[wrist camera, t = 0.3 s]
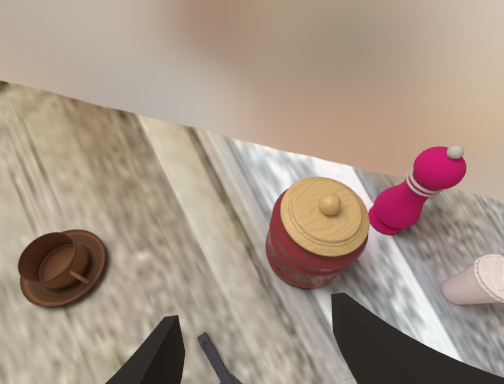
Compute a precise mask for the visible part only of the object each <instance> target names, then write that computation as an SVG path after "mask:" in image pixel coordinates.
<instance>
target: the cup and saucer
mask: <svg viewBox="0 0 504 384" xmlns="http://www.w3.org/2000/svg"><path fill="white" fill-rule="evenodd" d="M105 259H106V254H105V248H104V246H103V243H102V242H101V240H100V239H99V238H98V237H97V236H96V235H95V234H93V233H91V232H89V231H85V230H68V231H64V232H61V233H60V232H53V233H48V234H45V235H43V236H40V237H39V238H37V239H35V240H34V241H32V242H31V243H30V244H29V245H28V246H27V247H26V248H25V250H24V251H23V252H22V254H21V256H20V258H19V262H18V271H19V274H20V276H21V277H20V286H21V290H22V292H23V294H24V296H25V297H26V298H27V300H29V301H30V302H31V303H33V304H35V305H38V306H43V307H55V306H61V305H64V304H67V303H70V302H72V301H74V300H76V299H78V298H79V297H81V296H82V295H83V294H85V293H86V292H87V291H88V290H89V289H90V288H91V287H92V286H93V285H94V284H95V283H96V281H97V280H98V278H99V277H100V275H101V273H102V271H103V268H104V265H105Z"/></svg>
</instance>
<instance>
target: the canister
mask: <svg viewBox="0 0 504 384" xmlns="http://www.w3.org/2000/svg"><path fill="white" fill-rule="evenodd" d="M368 231H369V215H368V212H367V209H366V207H365V205H364V203H363V201H362V200H361V198H360V197H359V196H358V195H357V194H356V193H355V192H354V191H353V190H352V189H351V188H349V187H348V186H346V185H345V184H343V183H341V182H339V181H336V180H334V179H330V178H325V177H310V178H306V179H302V180H300V181H298V182H296V183H295V184H293V185H292V186H291V187H290V188H288V189H287V190H285V191H284V192H283V193H282V194H281V195H280V196H279V198H278V199H277V201H276V203H275V205H274V208H273V212H272V217H271V221H270V227H269V232H268V234H267V238H266V255H267V258H268V261H269V263H270V266H271V267H272V269H273V271H274V272H275V273H276V274H277V275H278V276H279V277H280V278H281V279H282V280H283V281H285V282H286V283H288V284H290V285H293V286H295V287H300V288H316V287H320V286H323V285H325V284H327V283H328V282H330V281H331V280H332V279H334V278H335V277H336V276H337V274H338V273H339V272H340V271H342V270H344V269H345V268H346V267H347V266H348V265H349V264H350V263H352V262H354V261H355V260H356V259H357V258H358V257H359V256H360V255H361V254H362V252H363V251H364V249H365V246H366V244H367V240H368Z"/></svg>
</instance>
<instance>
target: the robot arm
mask: <svg viewBox="0 0 504 384" xmlns="http://www.w3.org/2000/svg"><path fill="white" fill-rule="evenodd" d="M331 299H332V324H333V333H334V336H335V338H336V341H337V344H338V346H339V349H340V351H341V353H342V355H343V357H344V359H345V361H346V363H347V365H348V367H349V369H350V371H351V373H352V375H353V376H354V378H355V380H356V382H357V384H504V378H503V377H500V376H497V375H494V374H491V373H489V372H486V371H483V370H481V369H478V368H475V367H473V366H470V365H468V364H465V363H463V362H460V361H458V360H456V359H454V358H451V357H449V356H447V355H445V354H443V353H440V352H438V351H436V350H434V349H432V348H430V347H428V346H426V345H424V344H422V343H420V342H418V341H417V340H415V339H413V338H411V337H409V336H408V335H406V334H404V333H402V332H401V331H399V330H398V329H396V328H394V327H393V326H391V325H389V324H388V323H386V322H385V321H383V320H382V319H380V318H379V317H377V316H376V315H375V314H373V313H372V312H370V311H369V310H367V309H366V308H365V307H363V306H362V305H361V304H359V303H358V302H356V301H355V300H354V299H352V298H351V297H350V296H348V295H347V294H345V293H337V294H331ZM184 358H185V349H184V343H183V338H182V333H181V328H180V323H179V318H178V315H175V316H167V317H164V318H163V320H162V321H161V322H160V323H159V324H158V325H157V327H156V328H155V329H154V330H153V332H152V333H151V334H150V335H149V336H148V338H147V339H146V340H145V341H144V343H143V344H142V345H141V346H140V347H139V348H138V350H137V351H136V352H135V353H134V354H133V355H132V356H131V357H130V359H129V360H128V361H127V362H126V363H125V364H124V365H123V366H122V367H121V368H120V369H119V371H118V372H117V373H116V374H115V375H114V376H113V377H112V378H111V379H110V380H109V381H108V382H106V383H105V384H180V383H181V379H182V373H183V366H184Z"/></svg>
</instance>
